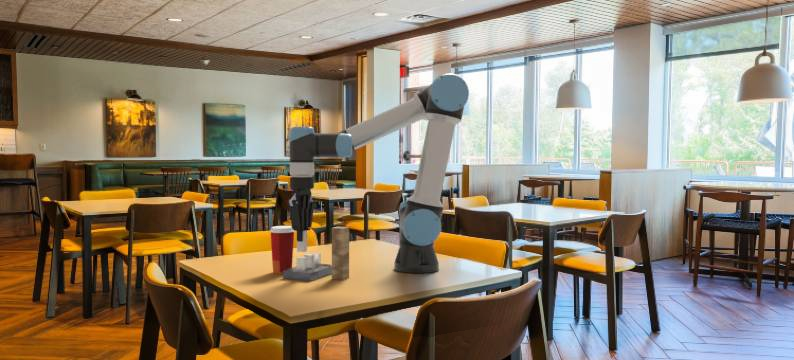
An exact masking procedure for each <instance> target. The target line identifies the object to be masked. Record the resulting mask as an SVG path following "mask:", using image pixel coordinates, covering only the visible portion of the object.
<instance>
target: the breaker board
mask: <svg viewBox="0 0 794 360" xmlns="http://www.w3.org/2000/svg"><path fill="white" fill-rule="evenodd" d="M310 254H313V255H314V267H313V268H308V267H307V257H304V256H298V257H296V266H292V268H290V269H287V270H283V274H282V275H283V277H282V278H283V279H285V280H295V281H302V282H303V281H305V282H312V281H315V280H319V279H321V278H324V277H327V276H329V275H332V263H331V264H330V263H322V253H316V252H312V253H310Z"/></svg>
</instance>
